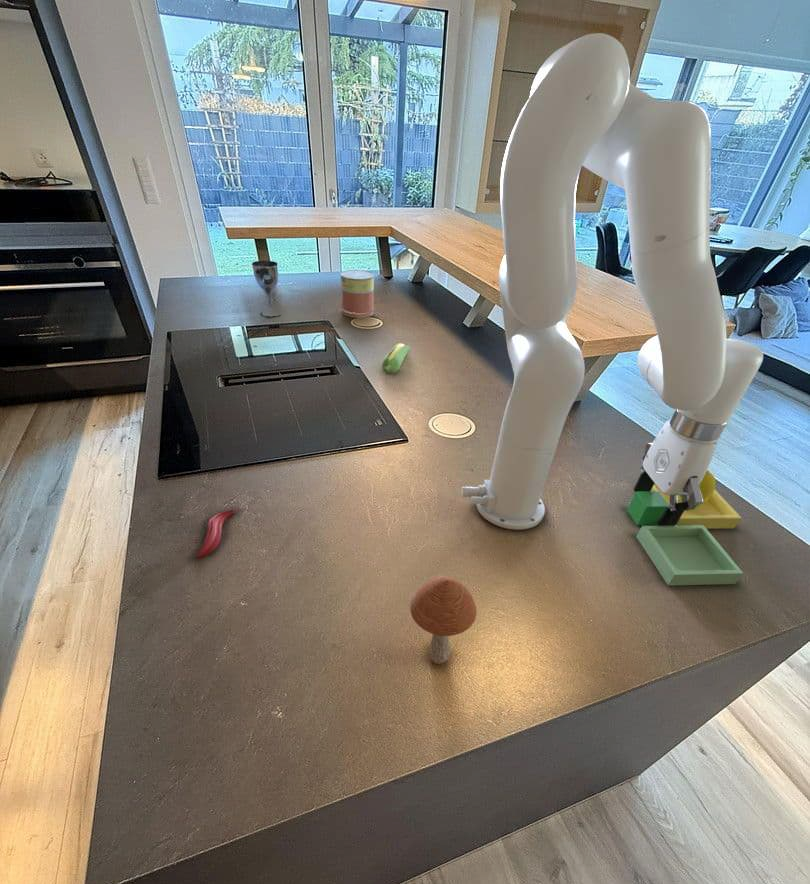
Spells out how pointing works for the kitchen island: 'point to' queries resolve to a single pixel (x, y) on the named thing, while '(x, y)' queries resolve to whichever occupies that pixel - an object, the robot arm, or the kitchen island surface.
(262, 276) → the wine glass
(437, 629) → the mushroom
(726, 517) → the yellow tray
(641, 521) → the green cube
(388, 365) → the edible corn
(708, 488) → the lemon
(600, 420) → the kitchen island surface
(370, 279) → the canned food
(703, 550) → the green tray
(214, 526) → the cayenne pepper
